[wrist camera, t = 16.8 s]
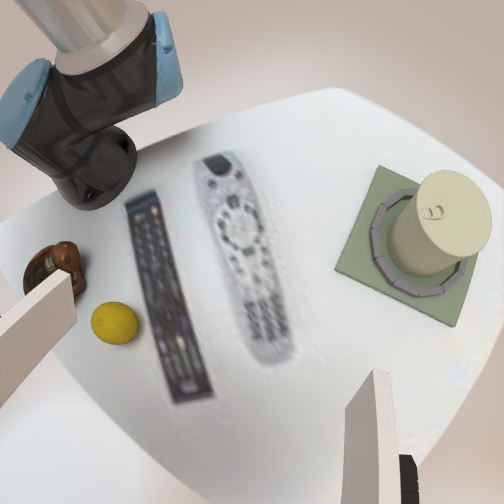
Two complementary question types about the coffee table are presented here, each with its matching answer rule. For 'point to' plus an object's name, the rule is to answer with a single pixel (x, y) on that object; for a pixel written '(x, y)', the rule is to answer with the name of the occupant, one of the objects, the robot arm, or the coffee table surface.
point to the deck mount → (382, 265)
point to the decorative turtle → (54, 266)
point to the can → (440, 225)
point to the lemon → (114, 323)
